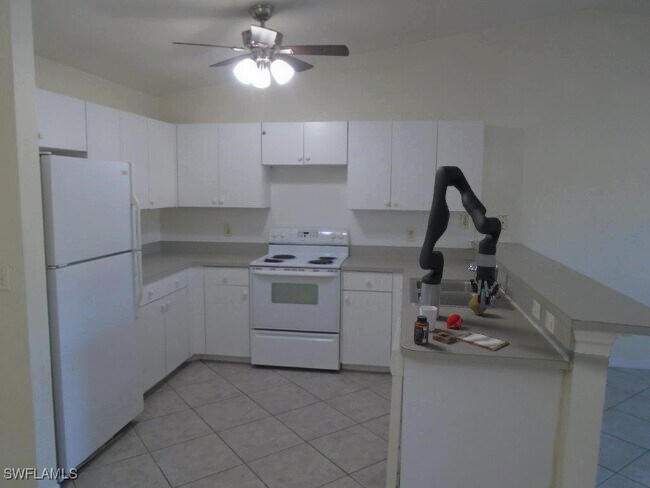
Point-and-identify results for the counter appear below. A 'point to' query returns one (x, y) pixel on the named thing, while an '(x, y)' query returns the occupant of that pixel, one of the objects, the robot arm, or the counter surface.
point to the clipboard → (482, 340)
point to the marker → (483, 299)
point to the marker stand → (444, 337)
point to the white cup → (429, 315)
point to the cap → (454, 321)
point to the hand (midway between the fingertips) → (483, 304)
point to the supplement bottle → (421, 330)
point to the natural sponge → (475, 305)
